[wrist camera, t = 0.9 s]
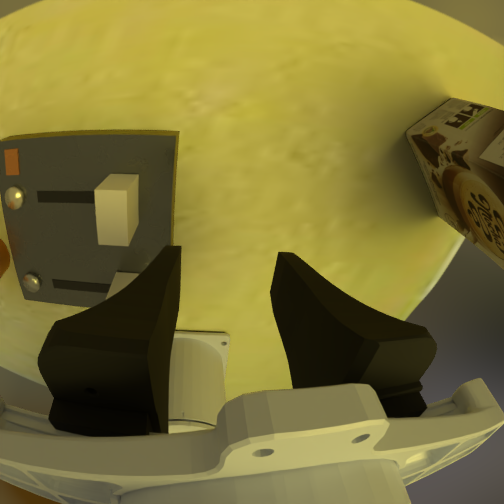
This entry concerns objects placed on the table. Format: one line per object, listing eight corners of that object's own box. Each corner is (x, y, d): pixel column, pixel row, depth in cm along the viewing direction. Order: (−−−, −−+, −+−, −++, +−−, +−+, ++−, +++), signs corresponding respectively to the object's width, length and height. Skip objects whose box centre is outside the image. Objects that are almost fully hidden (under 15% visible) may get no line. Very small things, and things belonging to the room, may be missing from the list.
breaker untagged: (143, 309, 22) (137, 337, 19) (120, 307, 22) (112, 335, 19) (140, 273, 21) (133, 300, 18) (116, 272, 20) (105, 298, 18)
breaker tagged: (138, 223, 19) (128, 246, 16) (112, 222, 18) (98, 244, 16) (138, 174, 17) (126, 190, 15) (110, 173, 17) (94, 189, 14)
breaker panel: (173, 297, 24) (170, 317, 22) (33, 285, 22) (22, 302, 20) (179, 131, 18) (175, 136, 16) (10, 136, 16) (-8, 143, 14)
